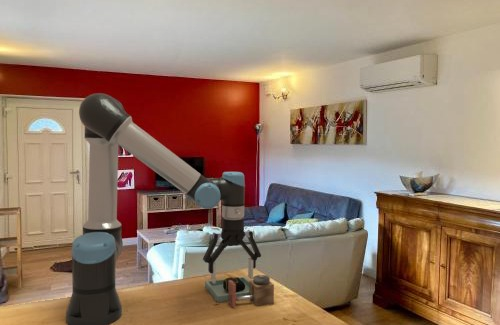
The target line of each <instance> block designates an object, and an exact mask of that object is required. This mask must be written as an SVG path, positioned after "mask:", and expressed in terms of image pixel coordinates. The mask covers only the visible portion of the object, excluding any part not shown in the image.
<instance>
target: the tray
mask: <svg viewBox="0 0 500 325" xmlns="http://www.w3.org/2000/svg"><path fill="white" fill-rule="evenodd" d="M237 277H238V278H239V279H240V280H241V281H242V282H244V284H245V290H242V291H238V292H236V297H239V296H247V295H249V281H251V279H250V280H249V278H247V277H246V276H237ZM225 279H226V278H221V279H220V278H219V279H216V283H215V284H213V283H212V282H211V279H210V280H204V288H205V289H206V291H207V292H208V293H209V294H210V295H211V297H212V298H213V299H214V301H215V302H216V303H217V304H221V303H222V304H223V303H229V302H228V291H226V290H224V288H223V281H224V280H225Z"/></svg>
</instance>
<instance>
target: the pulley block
mask: <svg viewBox="0 0 500 325" xmlns="http://www.w3.org/2000/svg"><path fill="white" fill-rule="evenodd" d="M270 280H271V278H270V276H268V275H262V274H257V275H253V279H250V281H249V295H254V299H248V300H249V301H250V302H251V303H253V305H254V306H255V307H261V306H262V307H263V306H268V305H274V303H275V302H274V301H275V300H274V299H275V294H274V293H275V284H274V283H273V282H271V281H270Z"/></svg>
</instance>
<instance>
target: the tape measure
mask: <svg viewBox="0 0 500 325" xmlns="http://www.w3.org/2000/svg"><path fill="white" fill-rule="evenodd" d="M238 277H239V276H236V277H227V278H224V279H225V280H224V281H223V288H224V290H226V291H228V280H232V281H233V282H234V283H235V284H236V292H238V291H242V290H245V284H244V282H242V281H241V280H240V279H239V278H238Z"/></svg>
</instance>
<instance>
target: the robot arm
mask: <svg viewBox="0 0 500 325" xmlns="http://www.w3.org/2000/svg"><path fill="white" fill-rule="evenodd" d="M78 114H79V119H80V122H81V123H82V125H83V126H84V140H85V141H87V142H88V145H89V158H88V159H89V160H88V161H89V162H88V164H89V165H88V168H89V170H88V203H87V204H88V208H87V209H88V211H87V212H88V213H87V215H88V216H87V217H88V218H87V220H86V221H85V222H84V223H83V225H82V234H81V235H79V236H77V237H75V239H74V240H73V241H72V246H71V274H72V275H71V276H72V278H71V281H72V284H71V285H72V293H71V295H70V296H71V297H70V299H69V302H68V305H67V309H66V311H65V322H66V323H67V324H68V325H108V324H112V323H114V322H116V321H117V320H119V319H120V317H121V316H122V314H123V311H122V309H123V308H122V303H121V299H120V297H119V295H118V294H119V293H118V292H117V288H116V263H117V261H118V258H120V255H121V253H122V251H123V247H124V246H123V245H124V244H123V238H122V223H121V221H119V220H118V219H117V216H118V213H117V212H118V209H117V208H118V181H119V180H118V175H119V174H118V173H119V171H118V170H119V146H120V148H123V149H124V150H125V151H127V152H128V153H129V154H131V155H132V156H133V157H135V158H136V159H137V160H139V161H140V162H142V163H143V164H145V166H147V167H148V168H149V169H151V170H152V171H154V172H155V173H156V174H158V175H159V176H160V177H161V178H163V179H165V180H166V181H167V182H169V183H170V184H171V185H173V186H174V187H175V188H177V189H178V190H180V192H182V193H183V194H184V195H185V196H186V200H187V201H188V202H195V203H196V205H197V206H199V208H202V209H204V210H205V209H206V210H210V209H213V208H215V207H216V206H218V204H219V203H220V201H221V203H222V204H221V217H222V219H221V232H220V233H216V232H212V235H211V241H210V243H209V244H208V247H207V249H206V251H205V253H204V255H203V258H202V261H204V262H205V263H207V264H208V265H207V266H208V269H207V270H208V273H209V274H210V280H211V282H212V283H213V284H215V283H216V280H217V279H216V277H217V276H216V274H217V273H216V272H217V270H216V269H217V267H216V266H217V264H216V263H215V262H216V260H217V259H218V257H219V256H220V255H221V254H222V252H223V251H224V249H226V248H227V247H232V246H239V245H240V246H241V247H242V249H243V250H244V251H245V252H246V253H247V255H248V256H249V257H248V260H247V262H248V265H247V266H248V267H247V277H248V279H250V280H253V277H254V269H256V267H257V265H256V263H257V262H256V261H257V260H258V258H261V257H262V254H261V252H260V249H259V247H258V245H257V243H256V240H255V238H254V232H253V231H252V230H251V229H250V230H249V229H247V231H245V219H244V217H245V193H246V189H245V188H246V184H245V183H246V182H245V175H244V173H243V172H241V171H224V172H222V176H221V177H214V178H213V177H205V176H204V175H202V174H201V173H200V172H198V171H197V170H196V169H195V168H193V167H192V166H191V165H190V164H189V163H187V162H186V161H185V160H183V159H182V158H180V157H179V156H178V155H177V154H175V153H174V152H173V151H171V150H170V149H169V148H167V147H166V146H165V145H163V144H162V143H161V142H159V141H158V140H157V139H155V137H154V136H151V135H150V134H149V133H148V132H146V131H145V130H144V129H142V128H141V127H139V126H138V125H137V124H136V123H134V121H133V118H132V116H131V115H130V114H128V113H127V112H126V111H125V107H124V106H123V104H122V103H121V102H120V101H119V100H117V99H116V98H114V97H112V96H111V95H109V94H106V93H101V92H99V93H98V92H97V93H92V94H89V95H88V96H86V97H85V98H84V99H83V100H82V101H81V103H80V105H79V108H78ZM245 237H246V238H247V239H248V242H249V244H250V246H251V248H252V250H251V249H250V248H249V246H248V245H247V244H246V242H245V241H244V240H243V239H244V238H245ZM220 238H221V241H220V243H219V245H218V246H217V248H216V245H217V243H218V241H219V240H220ZM215 248H216V249H215Z"/></svg>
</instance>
